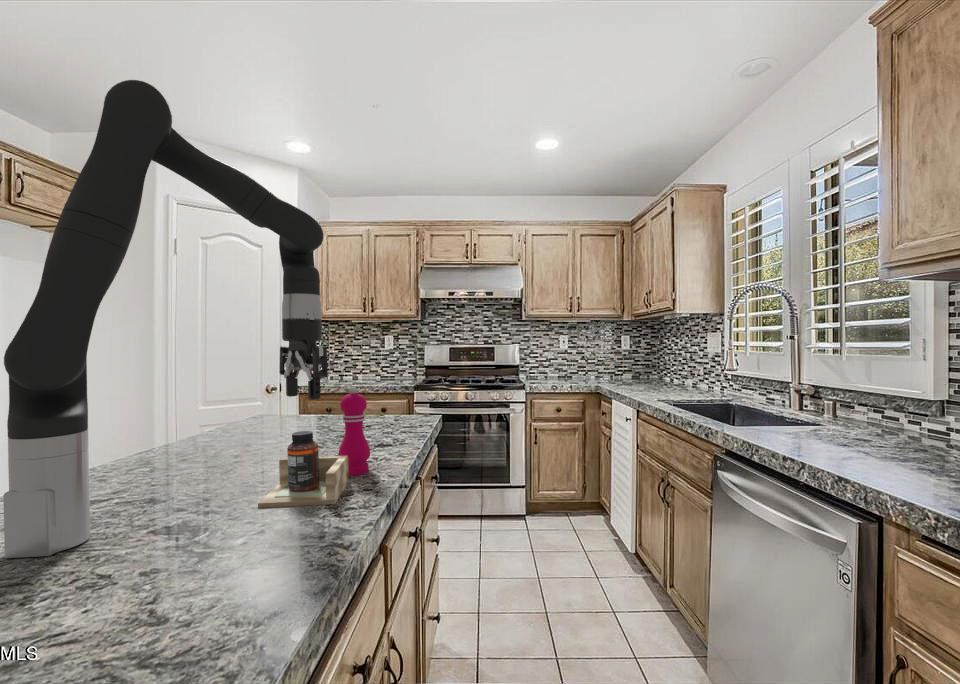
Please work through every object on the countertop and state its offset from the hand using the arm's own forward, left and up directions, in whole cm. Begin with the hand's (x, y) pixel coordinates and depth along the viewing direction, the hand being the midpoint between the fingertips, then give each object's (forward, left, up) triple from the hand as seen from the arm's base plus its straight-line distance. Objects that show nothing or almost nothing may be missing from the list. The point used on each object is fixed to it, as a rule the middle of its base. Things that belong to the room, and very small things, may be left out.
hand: (302, 397), depth 97 cm
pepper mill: (+15, -8, -20) cm, 26 cm away
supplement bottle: (0, 0, -19) cm, 19 cm away
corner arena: (0, -1, -19) cm, 19 cm away
